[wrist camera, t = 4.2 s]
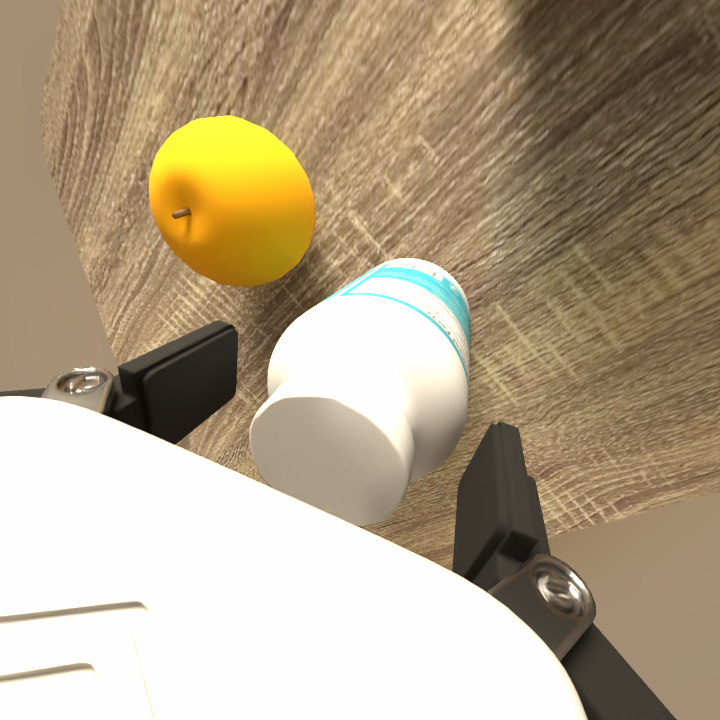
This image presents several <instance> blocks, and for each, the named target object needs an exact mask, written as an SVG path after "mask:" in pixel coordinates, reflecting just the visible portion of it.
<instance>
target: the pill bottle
mask: <svg viewBox="0 0 720 720" xmlns="http://www.w3.org/2000/svg"><path fill="white" fill-rule="evenodd" d="M470 326H471V317H470V309H469V305H468V301H467V299H466V296H465V294H464V292H463V290H462V289H461V287H460V286H459V284H458V283H457V282H456V280H455V279H454V278H453V277H452V276H451V275H450V274H449V273H447V272H446V271H445V270H443V269H442V268H440V267H438V266H437V265H435V264H432V263H430V262H427V261H423V260H419V259H395V260H392V261H388V262H385V263H383V264H381V265H379V266H377V267H375V268H373V269H372V270H370V271H368V272H367V273H365V274H364V275H362V276H361V277H359V278H358V279H356V280H355V281H353V282H352V283H350V284H349V285H347V286H346V287H344V288H342V289H341V290H339V291H338V292H336V293H335V294H333V295H332V296H330V297H328V298H327V299H325V300H324V301H322V302H321V303H319V304H318V305H316V306H314V307H313V308H311V309H310V310H308V311H307V312H306V313H304V314H303V315H301V316H300V317H299V318H298V319H296V320H295V321H294V322H293V323H292V324H291V325H290V326H289V327H288V328H287V329H286V331H285V332H284V333H283V335H282V336H281V338H280V339H279V341H278V343H277V344H276V347H275V349H274V351H273V354H272V356H271V360H270V364H269V368H268V378H267V386H268V397H269V399H268V400H267V401H266V402H265V403H264V404H263V405H262V406H261V408H260V409H259V410H258V412H257V413H256V415H255V417H254V419H253V421H252V424H251V428H250V435H249V444H250V450H251V454H252V458H253V460H254V463H255V465H256V467H257V469H258V471H259V473H260V475H261V476H262V478H263V479H264V480H265V482H266V483H267V484H268V486H269V487H271V488H273V489H275V490H277V491H280V492H282V493H284V494H286V495H289V496H291V497H293V498H295V499H298V500H300V501H302V502H304V503H306V504H309V505H311V506H313V507H315V508H318V509H320V510H322V511H324V512H326V513H329V514H331V515H333V516H335V517H337V518H340V519H342V520H344V521H346V522H348V523H351V524H353V525H355V526H357V527H363V526H368V525H372V524H375V523H378V522H380V521H382V520H384V519H386V518H388V517H389V516H390V515H392V514H393V513H394V512H395V511H396V510H397V509H398V508H399V506H400V505H401V503H402V501H403V500H404V497H405V495H406V492H407V489H408V485H409V482H412V481H415V480H417V479H420V478H422V477H424V476H426V475H427V474H429V473H431V472H432V471H434V470H435V469H436V468H437V467H439V466H440V465H441V464H442V463H443V462H444V461H445V460H446V459H447V458H448V457H449V455H450V454H451V453H452V451H453V450H454V449H455V447H456V445H457V444H458V442H459V440H460V437H461V435H462V432H463V430H464V427H465V423H466V417H467V409H468V392H469V359H470Z"/></svg>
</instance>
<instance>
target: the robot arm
mask: <svg viewBox="0 0 720 720" xmlns="http://www.w3.org/2000/svg"><path fill="white" fill-rule="evenodd" d="M237 351H238V332H237V331H236V330H235V327H234V326H233V325H231V324H228V323H225V322H222V321H219V320H217V321H215V322H212V323H210V324H208V325H206V326H204V327H202V328H200V329H197V330H195V331H193V332H191V333H189V334H187V335H185V336H182V337H180V338H178V339H176V340H174V341H172V342H170V343H167V344H165V345H163V346H161V347H159V348H157V349H155V350H152V351H150V352H148V353H146V354H144V355H142V356H140V357H137V358H135V359H133V360H131V361H129V362H127V363H125V364H122V365H120V366H118V371H119V375H117V376H115V377H113V374H112V373H111V372H110V371H108V370H106V369H102V368H98V367H97V368H96V367H84V368H77V369H72V370H69V371H66V372H63V373H61V374H59V375H57V376H56V377H54V378H53V379H52V380H51V381H50V383H49V384H48V386H47V388H43V389H31V390H19V391H6V392H0V720H676V719H675V717H674V716H673V715H672V714H671V713H670V712H669V710H668V709H667V708H666V707H665V706H664V705H663V703H662V702H661V701H660V700H659V699H658V698H657V697H656V695H655V694H654V693H653V692H652V691H651V690H650V689H649V688H648V686H647V685H646V684H645V683H644V682H643V680H642V679H641V678H640V677H639V676H638V675H637V674H636V672H635V671H634V670H633V669H632V668H631V667H630V665H629V664H628V663H627V662H626V661H625V659H624V658H623V657H622V656H621V655H620V654H619V653H618V651H617V650H616V649H615V648H614V647H613V646H612V644H611V643H610V642H609V641H608V640H607V639H606V637H605V636H604V635H603V634H602V633H601V632H600V630H599V629H598V628H597V627H596V626H595V625H594V624H593V620H594V618H595V615H596V606H595V602H594V599H593V596H592V594H591V592H590V590H589V589H588V587H587V585H586V583H585V582H584V581H583V579H582V578H581V577H580V576H579V575H578V574H577V573H576V571H574V570H573V569H572V568H571V567H569V565H567V564H566V563H565V562H563V561H561V560H560V559H558V558H556V557H554V556H551V554H550V549H549V544H548V539H547V535H546V530H545V525H544V520H543V515H542V511H541V506H540V501H539V496H538V491H537V486H536V482H535V480H534V479H533V478H532V477H530V476H528V475H527V471H526V466H525V460H524V455H523V449H522V444H521V438H520V433H519V429H518V428H517V427H514V426H511V425H508V424H506V423H503V422H498V423H497V425H495V424H491V425H490V426H489V428H488V430H487V431H486V433H485V435H484V437H483V439H482V441H481V443H480V444H479V446H478V448H477V450H476V452H475V454H474V456H473V457H472V459H471V461H470V463H469V465H468V467H467V469H466V470H465V472H464V474H463V476H462V478H461V480H460V483H459V486H458V494H457V509H456V524H455V540H454V555H453V570H452V571H449V570H448V569H446V568H444V567H442V566H440V565H438V564H436V563H434V562H432V561H430V560H428V559H426V558H424V557H422V556H420V555H417V554H415V553H413V552H411V551H409V550H407V549H405V548H403V547H401V546H398V545H396V544H394V543H392V542H390V541H388V540H386V539H384V538H381V537H379V536H377V535H375V534H373V533H371V532H368V531H366V530H364V529H362V528H359V527H357V526H355V525H353V524H351V523H348V522H346V521H344V520H342V519H340V518H337V517H335V516H333V515H331V514H329V513H326V512H324V511H322V510H320V509H318V508H315V507H313V506H311V505H309V504H306V503H304V502H302V501H300V500H298V499H295V498H293V497H291V496H289V495H286V494H284V493H282V492H280V491H277V490H275V489H273V488H271V487H269V486H266V485H264V484H262V483H260V482H257V481H255V480H253V479H251V478H248V477H246V476H244V475H242V474H239V473H237V472H235V471H233V470H230V469H228V468H226V467H224V466H221V465H219V464H217V463H215V462H212V461H210V460H208V459H206V458H203V457H201V456H199V455H196V454H194V453H192V452H190V451H187V450H185V449H183V448H180V447H178V446H176V445H175V444H177V443H178V442H179V441H180V440H182V439H183V438H184V437H185V436H187V435H188V434H189V433H190V432H191V431H193V430H194V429H195V428H196V427H198V426H199V425H200V424H201V423H202V422H204V421H205V420H206V419H207V418H209V417H210V416H211V415H212V414H214V413H215V412H216V411H217V410H218V409H220V408H221V407H222V406H223V405H225V404H226V403H227V402H228V401H229V400H231V399H232V398H233V396H234V395H235V392H236V380H237Z"/></svg>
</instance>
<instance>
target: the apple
mask: <svg viewBox="0 0 720 720" xmlns="http://www.w3.org/2000/svg"><path fill="white" fill-rule="evenodd" d="M149 199H150V204H151V208H152V212H153V216H154V219H155V221H156V224H157V226H158V228H159V230H160V232H161V234H162V237H163V239H164V240H165V241H166V243H167V244H168V245H169V247H170V248H171V249H172V251H173V252H174V253H175V254H176V255H177V256H178V257H179V258H180V259H181V260H182V261H183V262H185V263H186V264H187V265H188V266H189V267H190V268H192V269H193V270H194V271H195V272H197V273H199V274H201V275H203V276H205V277H207V278H209V279H211V280H213V281H215V282H217V283H220V284H223V285H229V286H243V287H254V286H258V285H262V284H265V283H268V282H272V281H275V280H277V279H279V278H281V277H282V276H284V275H285V274H286V273H287V272H289V271H290V270H291V269H292V268H294V267H295V266H296V265H297V264H298V263H299V262H300V260H301V259H302V257H303V255H304V254H305V252H306V251H307V249H308V247H309V246H310V243H311V239H312V235H313V230H314V226H315V203H314V196H313V193H312V190H311V187H310V183H309V180H308V177H307V175H306V173H305V172H304V170H303V169H302V167H301V165H300V164H299V162H298V161H297V159H296V158H295V156H294V155H293V153H292V152H291V150H290V149H288V148H287V147H286V146H285V145H284V144H283V143H282V142H280V141H279V140H278V139H277V138H276V137H275V136H274V135H272V134H271V133H270V132H269V131H268V130H266V129H264V128H262V127H260V126H257V125H255V124H252V123H250V122H247V121H245V120H243V119H240V118H238V117H233V116H221V117H211V118H202V119H197V120H195V121H192V122H190V123H189V124H187V125H185V126H184V127H182V128H181V129H179V130H177V131H176V132H174V133H173V134H172V135H171V136H170V137H169V138H168V139H167V140H166V142H165V143H164V145H163V146H162V148H161V149H160V151H159V152H158V153H157V155H156V157H155V160H154V163H153V167H152V170H151V174H150V178H149Z"/></svg>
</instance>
